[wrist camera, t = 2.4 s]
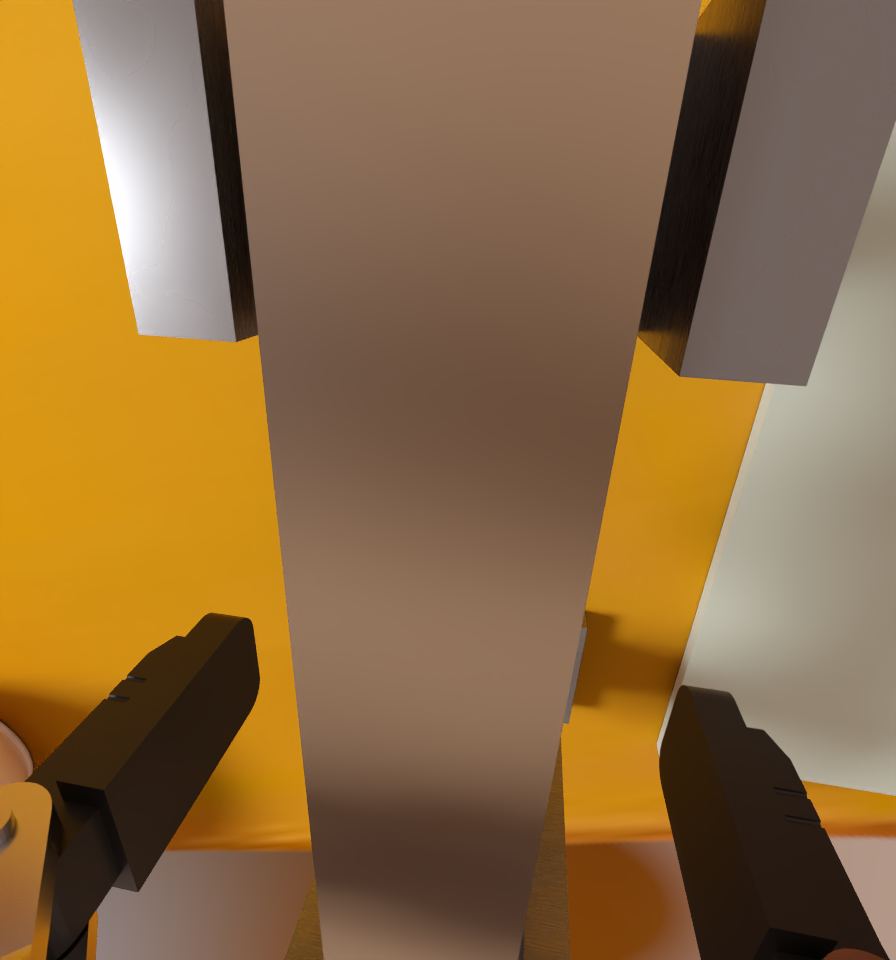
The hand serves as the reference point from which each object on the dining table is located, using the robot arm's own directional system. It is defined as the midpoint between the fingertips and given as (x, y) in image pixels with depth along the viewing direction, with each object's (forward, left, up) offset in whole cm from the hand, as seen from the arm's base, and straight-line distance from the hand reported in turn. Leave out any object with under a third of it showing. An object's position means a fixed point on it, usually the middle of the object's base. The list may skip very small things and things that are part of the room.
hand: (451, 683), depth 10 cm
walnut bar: (0, 0, 0) cm, 0 cm away
